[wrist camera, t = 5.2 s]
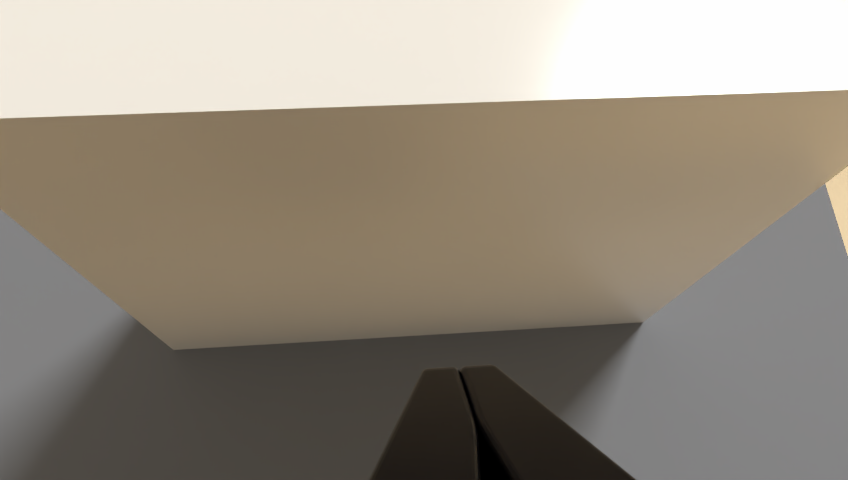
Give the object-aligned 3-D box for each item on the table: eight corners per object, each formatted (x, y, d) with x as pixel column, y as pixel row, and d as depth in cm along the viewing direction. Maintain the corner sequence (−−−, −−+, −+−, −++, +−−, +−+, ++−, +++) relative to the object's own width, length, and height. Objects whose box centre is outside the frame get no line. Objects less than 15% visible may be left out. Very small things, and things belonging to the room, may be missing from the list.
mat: (912, 507, 15) (926, 508, 14) (-105, 591, 13) (-120, 593, 13) (702, -179, 22) (708, -191, 22) (34, -177, 20) (27, -190, 20)
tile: (642, 322, 15) (952, 86, 7) (173, 349, 15) (-107, 122, 6) (626, 236, 16) (889, -68, 8) (178, 259, 15) (-67, -54, 7)
